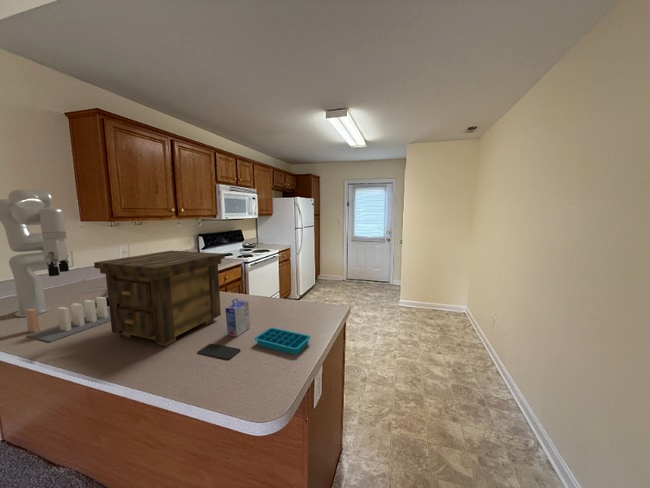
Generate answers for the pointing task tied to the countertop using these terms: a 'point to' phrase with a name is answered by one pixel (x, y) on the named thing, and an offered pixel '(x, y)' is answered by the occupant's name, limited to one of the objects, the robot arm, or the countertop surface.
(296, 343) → the ice cube tray
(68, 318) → the ivory tile
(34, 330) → the terracotta tile
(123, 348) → the countertop surface
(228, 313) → the ink cartridge box
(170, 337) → the wooden nightstand
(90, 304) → the ivory tile
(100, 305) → the ivory tile
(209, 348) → the phone
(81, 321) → the ivory tile
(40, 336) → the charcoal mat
